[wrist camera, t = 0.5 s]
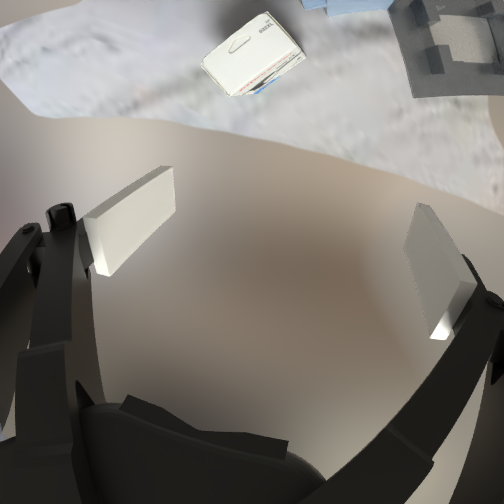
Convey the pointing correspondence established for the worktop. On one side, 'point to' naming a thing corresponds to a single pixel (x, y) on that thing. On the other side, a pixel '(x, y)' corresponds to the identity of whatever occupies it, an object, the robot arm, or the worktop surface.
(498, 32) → the chassis pocket
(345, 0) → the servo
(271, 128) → the worktop surface
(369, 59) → the worktop surface
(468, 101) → the worktop surface
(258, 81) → the ink box
